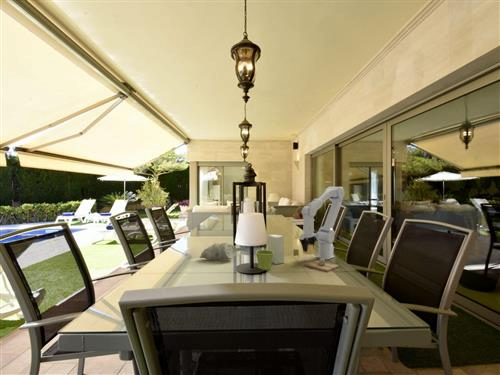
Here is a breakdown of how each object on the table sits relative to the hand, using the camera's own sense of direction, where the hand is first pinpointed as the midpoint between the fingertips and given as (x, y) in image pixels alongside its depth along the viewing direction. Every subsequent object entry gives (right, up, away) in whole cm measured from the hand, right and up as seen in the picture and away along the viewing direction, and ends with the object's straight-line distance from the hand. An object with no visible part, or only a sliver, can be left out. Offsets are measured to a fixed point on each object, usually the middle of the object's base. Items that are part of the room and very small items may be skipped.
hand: (307, 250), depth 163 cm
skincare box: (-19, -5, -5) cm, 21 cm away
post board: (+5, -6, -12) cm, 14 cm away
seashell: (-51, -5, -5) cm, 52 cm away
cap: (0, -2, 0) cm, 2 cm away
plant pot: (-26, -5, -20) cm, 33 cm away
